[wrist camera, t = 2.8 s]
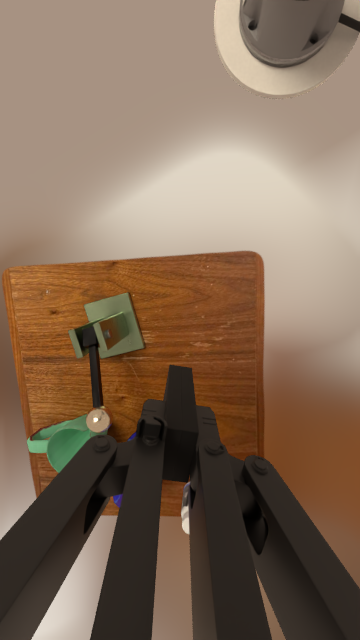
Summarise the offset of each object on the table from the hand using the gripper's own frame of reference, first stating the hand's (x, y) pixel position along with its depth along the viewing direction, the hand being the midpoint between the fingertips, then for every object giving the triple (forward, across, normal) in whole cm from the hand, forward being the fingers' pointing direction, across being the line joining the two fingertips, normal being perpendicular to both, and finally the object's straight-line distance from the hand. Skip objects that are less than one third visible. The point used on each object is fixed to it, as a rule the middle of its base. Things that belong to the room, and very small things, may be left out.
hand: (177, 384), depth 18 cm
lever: (+21, -10, -12) cm, 26 cm away
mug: (+33, -15, -29) cm, 46 cm away
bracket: (+34, -11, -8) cm, 36 cm away
